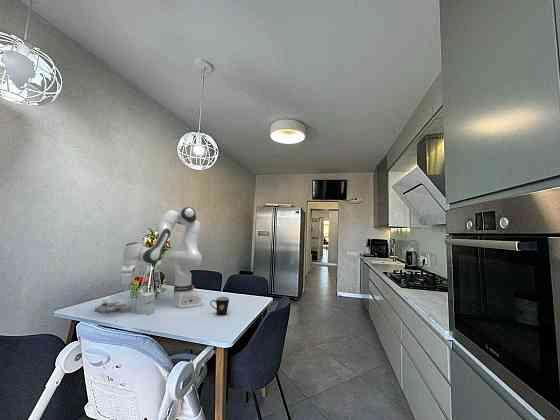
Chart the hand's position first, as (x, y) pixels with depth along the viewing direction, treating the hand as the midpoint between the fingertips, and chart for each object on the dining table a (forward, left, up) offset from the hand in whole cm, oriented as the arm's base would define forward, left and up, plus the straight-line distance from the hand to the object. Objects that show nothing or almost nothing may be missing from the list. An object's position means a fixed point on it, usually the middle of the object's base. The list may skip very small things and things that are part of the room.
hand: (127, 289), depth 152 cm
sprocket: (+10, -7, -14) cm, 18 cm away
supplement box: (-11, +4, -15) cm, 19 cm away
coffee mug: (-57, +16, -15) cm, 61 cm away
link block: (0, +1, -15) cm, 15 cm away
